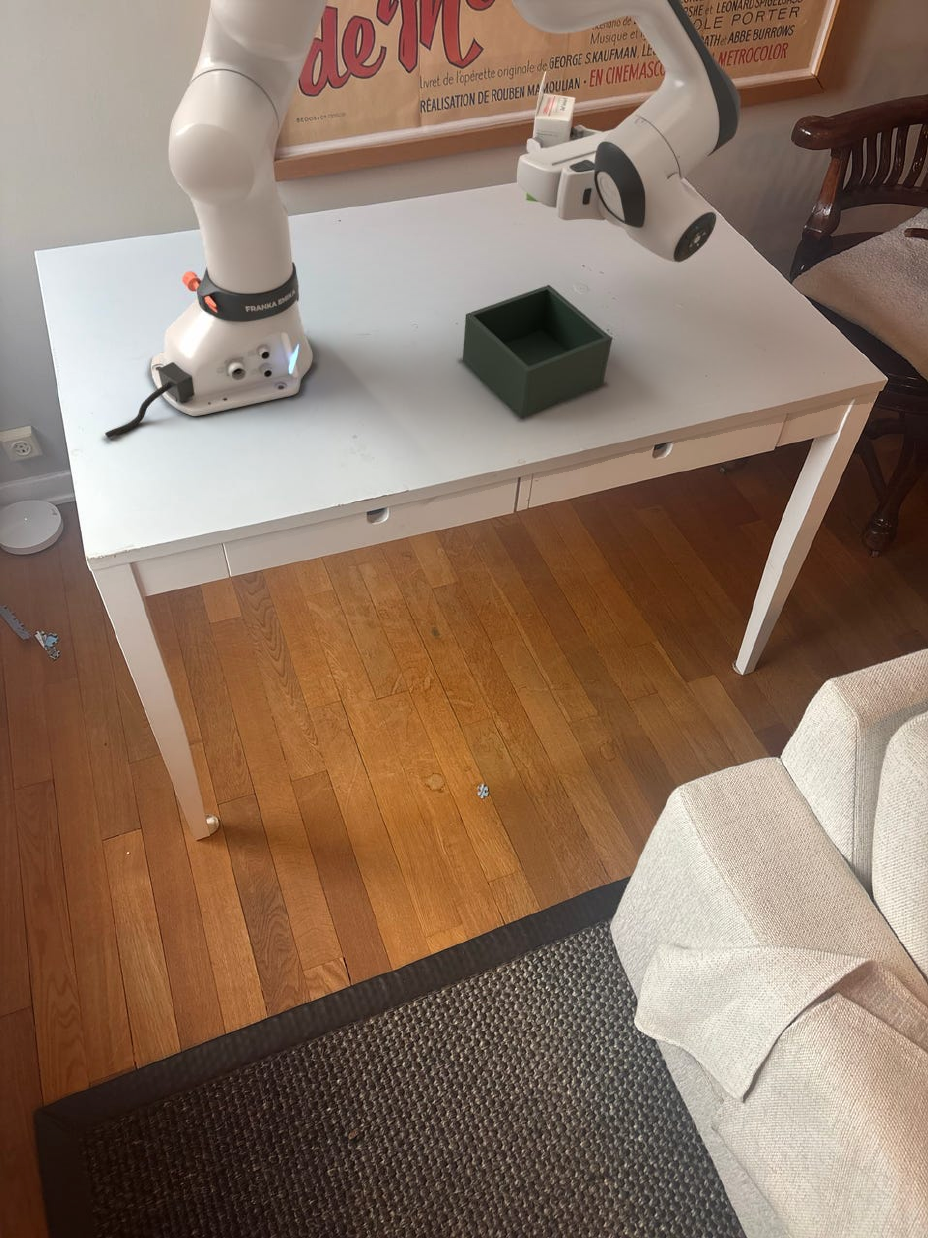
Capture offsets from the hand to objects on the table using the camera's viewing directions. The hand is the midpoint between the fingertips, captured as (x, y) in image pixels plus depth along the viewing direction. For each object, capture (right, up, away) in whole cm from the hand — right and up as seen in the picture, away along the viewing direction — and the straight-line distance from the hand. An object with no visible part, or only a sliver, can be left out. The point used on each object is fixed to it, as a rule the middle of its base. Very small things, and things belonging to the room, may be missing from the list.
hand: (552, 136), depth 134 cm
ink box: (0, -4, +8) cm, 9 cm away
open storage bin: (-2, -31, +6) cm, 32 cm away
